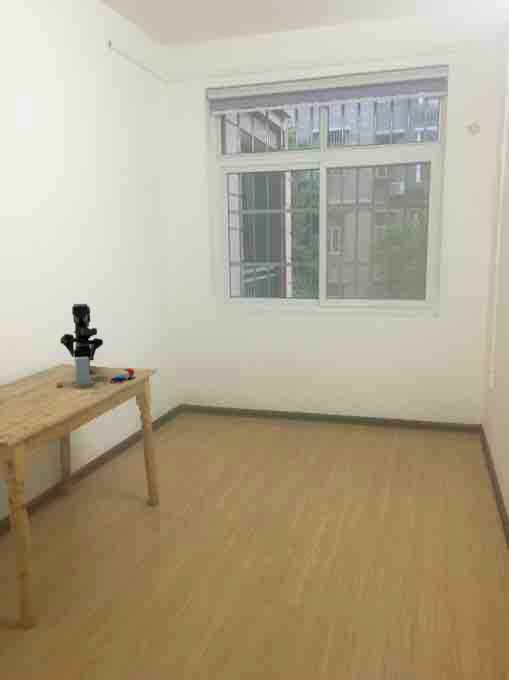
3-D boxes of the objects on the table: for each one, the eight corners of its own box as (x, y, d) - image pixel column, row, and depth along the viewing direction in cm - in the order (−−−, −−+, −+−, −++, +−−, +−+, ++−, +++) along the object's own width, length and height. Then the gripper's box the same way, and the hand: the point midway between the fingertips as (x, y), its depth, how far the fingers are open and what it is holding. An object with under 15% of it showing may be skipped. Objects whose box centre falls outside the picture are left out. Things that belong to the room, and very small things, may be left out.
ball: (57, 385, 250) (56, 379, 249) (64, 385, 250) (63, 379, 249) (55, 387, 247) (54, 381, 246) (62, 387, 247) (61, 380, 246)
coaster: (76, 382, 255) (75, 381, 255) (95, 382, 255) (95, 381, 255) (70, 387, 246) (70, 386, 246) (91, 387, 247) (91, 386, 246)
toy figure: (119, 387, 253) (139, 375, 265) (116, 377, 252) (137, 366, 264) (106, 387, 256) (127, 375, 269) (104, 377, 255) (125, 365, 268)
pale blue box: (76, 383, 252) (74, 357, 250) (89, 382, 254) (87, 356, 252) (77, 385, 248) (75, 359, 246) (90, 384, 250) (88, 358, 248)
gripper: (69, 317, 252) (70, 348, 246) (107, 323, 264) (109, 353, 258) (59, 327, 260) (60, 358, 254) (97, 333, 272) (98, 362, 266)
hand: (82, 357), depth 258 cm, fingers open, 9 cm apart
